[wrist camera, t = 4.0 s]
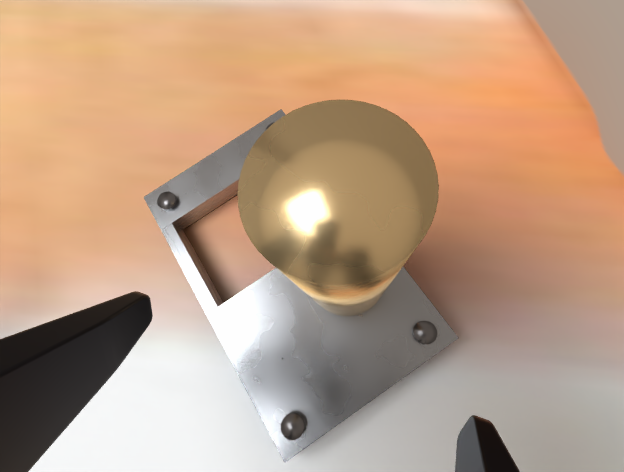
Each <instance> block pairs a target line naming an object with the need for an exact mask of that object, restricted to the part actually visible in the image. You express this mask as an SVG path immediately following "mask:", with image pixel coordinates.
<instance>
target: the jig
mask: <svg viewBox="0 0 624 472" xmlns="http://www.w3.org/2000/svg"><path fill="white" fill-rule="evenodd" d="M283 116H285V113H284V112H283V111H282V110H279V111H278V112H276V113H274V114H273V115H271V116H270V117H268V118H267V119H265V120H264V121H262V122H260V123H259V124H257V125H256V126H254V127H253V128H251V129H249V130H248V131H246V132H245V133H243V134H242V135H240V136H239V137H237V138H235V139H234V140H232V141H231V142H229V143H228V144H226V145H224V146H223V147H221V148H220V149H218V150H217V151H215V152H214V153H212V154H210V155H209V156H207V157H206V158H204V159H203V160H201V161H199V162H198V163H196V164H195V165H193V166H192V167H190V168H189V169H187V170H185V171H184V172H182V173H181V174H179V175H178V176H176V177H174V178H173V179H171V180H170V181H168V182H167V183H165V184H163V185H162V186H160V187H159V188H157V189H156V190H154V191H153V192H151V193H149V194H148V195H146V196H145V197H144V199H145V201H146V203H147V205H148V206H149V208H150V210H151V212H152V214H153V216H154V218H155V220H156V221H157V223H158V225H159V227H160V229H161V231H162V233H163V235H164V236H165V238H166V240H167V242H168V244H169V246H170V248H171V250H172V252H173V253H174V255H175V257H176V259H177V261H178V263H179V265H180V267H181V268H182V270H183V272H184V274H185V276H186V278H187V280H188V282H189V283H190V285H191V287H192V289H193V291H194V293H195V295H196V297H197V299H198V300H199V302H200V304H201V306H202V308H203V310H204V312H205V314H206V315H207V317H208V319H209V321H210V323H211V325H212V327H213V329H214V330H215V332H216V334H217V336H218V338H219V340H220V342H221V344H222V346H223V347H224V349H225V351H226V353H227V355H228V357H229V359H230V361H231V362H232V364H233V366H234V368H235V370H236V372H237V374H238V376H239V377H240V379H241V381H242V383H243V385H244V387H245V389H246V391H247V392H248V394H249V396H250V398H251V400H252V402H253V404H254V406H255V408H256V409H257V411H258V413H259V415H260V417H261V419H262V421H263V423H264V424H265V426H266V428H267V430H268V432H269V434H270V436H271V438H272V439H273V441H274V443H275V445H276V447H277V449H278V451H279V453H280V455H281V456H282V458H283V460H284V462H286V461H288V460H289V459H291V458H292V457H293V456H295V455H296V454H298V453H299V452H300V451H302V450H303V449H304V448H306V447H307V446H309V445H310V444H311V443H313V442H314V441H316V440H317V439H318V438H320V437H321V436H323V435H324V434H325V433H327V432H328V431H330V430H331V429H332V428H334V427H335V426H337V425H338V424H339V423H341V422H342V421H344V420H345V419H346V418H348V417H349V416H351V415H352V414H353V413H355V412H356V411H358V410H359V409H360V408H362V407H363V406H365V405H366V404H367V403H369V402H370V401H371V400H373V399H374V398H376V397H377V396H378V395H380V394H381V393H383V392H384V391H385V390H387V389H388V388H390V387H391V386H392V385H394V384H395V383H397V382H398V381H399V380H401V379H402V378H404V377H405V376H406V375H408V374H409V373H411V372H412V371H413V370H415V369H416V368H418V367H419V366H420V365H422V364H423V363H425V362H426V361H427V360H429V359H430V358H432V357H433V356H434V355H436V354H437V353H438V352H440V351H441V350H443V349H444V348H445V347H447V346H448V345H450V344H451V343H452V342H454V341H455V340H457V339H458V337H457V335H456V334H455V333H454V331H453V330H452V329H451V327H450V326H449V325H448V324H447V322H446V321H445V320H444V318H443V317H442V316H441V315H440V313H439V312H438V311H437V309H436V308H435V307H434V306H433V304H432V303H431V302H430V300H429V299H428V298H427V297H426V295H425V294H424V293H423V291H422V290H421V289H420V288H419V286H418V285H417V284H416V282H415V281H414V280H413V278H412V277H411V276H410V275H409V273H408V272H407V271H406V269H405V268H404V267H402V268H401V270H400V271H399V272H398V274H397V275H396V277H395V278H394V279H393V281H392V282H391V283H390V285H389V286H388V288H387V289H386V290H385V292H384V293H383V294H382V296H381V297H380V298H379V300H378V301H377V303H376V304H375V305H374V306H373V307H371V308H370V309H369V310H367V311H366V312H364V313H361V314H358V315H354V316H340V315H336V314H333V313H331V312H329V311H327V310H325V309H324V308H323V307H321V306H320V305H319V304H318V303H317V302H316V301H314V300H313V299H312V298H311V297H310V296H309V295H307V294H306V293H305V292H304V291H303V290H302V289H300V288H299V287H298V286H297V285H296V284H295V283H293V282H292V281H291V280H290V279H289V278H288V277H287V276H285V275H284V274H283V273H282V272H281V271H280V270H278V269H277V268H275V269H274V270H272V271H271V272H269V273H268V274H266V275H265V276H263V277H262V278H260V279H259V280H257V281H256V282H254V283H253V284H251V285H250V286H248V287H247V288H245V289H244V290H242V291H241V292H239V293H238V294H236V295H235V296H233V297H232V298H230V299H229V300H227V301H226V302H224V303H223V301H222V299H221V297H220V296H219V294H218V292H217V290H216V288H215V287H214V285H213V283H212V281H211V279H210V278H209V276H208V274H207V272H206V270H205V269H204V267H203V265H202V263H201V261H200V260H199V258H198V256H197V254H196V252H195V251H194V249H193V247H192V245H191V244H190V242H189V240H188V238H187V236H186V235H185V233H184V231H183V229H185V228H187V227H188V226H190V225H191V224H193V223H194V222H196V221H197V220H199V219H200V218H202V217H203V216H205V215H206V214H208V213H210V212H211V211H213V210H214V209H216V208H217V207H219V206H220V205H222V204H223V203H225V202H226V201H228V200H229V199H231V198H233V197H234V196H236V195H237V194H238V183H239V178H240V173H241V170H242V167H243V164H244V161H245V159H246V157H247V155H248V153H249V151H250V150H251V148H252V147H253V145H254V144H255V142H256V141H257V139H258V138H259V137H260V136H261V135H262V134H263V132H264V131H266V130H267V129H268V128H269V127H270V126H271V125H272V124H273V123H275V122H276V121H277V120H279V119H280V118H282V117H283Z"/></svg>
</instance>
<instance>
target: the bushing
mask: <svg viewBox="0 0 624 472" xmlns="http://www.w3.org/2000/svg"><path fill="white" fill-rule="evenodd" d="M438 189H439V185H438V176H437V171H436V167H435V163H434V160H433V158H432V156H431V153H430V151H429V149H428V147H427V146H426V144H425V142H424V141H423V139H422V138H421V137H420V136H419V134H418V133H417V132H416V131H415V130H414V129H413V128H412V127H411V126H410V125H409V124H408V123H407V122H405V121H404V120H403V119H401V118H400V117H399V116H397V115H395V114H394V113H392V112H390V111H388V110H386V109H384V108H381V107H379V106H376V105H373V104H369V103H366V102H361V101H354V100H328V101H322V102H317V103H313V104H310V105H306V106H303V107H301V108H299V109H296V110H294V111H292V112H290V113H288V114H287V115H285V116H283V117H282V118H280V119H279V120H277V121H276V122H275V123H273V124H272V125H271V126H270V127H269V128H268V129H267V130H266V131H264V132H263V134H262V135H261V136H260V137H259V138H258V139H257V141H256V142H255V144H254V145H253V147H252V148H251V150H250V151H249V153H248V155H247V157H246V159H245V161H244V164H243V167H242V170H241V173H240V178H239V183H238V207H239V212H240V217H241V220H242V223H243V226H244V229H245V231H246V233H247V234H248V236H249V238H250V240H251V242H252V243H253V244H254V246H255V247H256V248H257V250H258V251H259V252H260V253H261V254H262V255H263V256H264V257H265V258H266V259H267V260H268V261H269V262H270V263H271V264H273V265H274V266H275V267H276V268H277V269H278V270H280V271H281V272H282V273H283V274H284V275H285V276H287V277H288V278H289V279H290V280H291V281H292V282H293V283H295V284H296V285H297V286H298V287H299V288H300V289H302V290H303V291H304V292H305V293H306V294H307V295H309V296H310V297H311V298H312V299H313V300H314V301H316V302H317V303H318V304H319V305H320V306H321V307H323V308H324V309H325V310H327V311H329V312H331V313H333V314H336V315H340V316H354V315H358V314H361V313H364V312H366V311H367V310H369V309H370V308H371V307H373V306H374V305H375V304H376V303H377V301H378V300H379V298H380V297H381V296H382V294H383V293H384V292H385V290H386V289H387V288H388V286H389V285H390V283H391V282H392V281H393V279H394V278H395V277H396V275H397V274H398V272H399V271H400V270H401V268H402V267H403V266H404V264H405V263H406V262H407V260H408V259H409V257H410V256H411V255H412V253H413V252H414V251H415V249H416V248H417V246H418V245H419V244H420V242H421V241H422V239H423V238H424V237H425V235H426V233H427V231H428V229H429V227H430V226H431V224H432V221H433V218H434V215H435V212H436V207H437V202H438Z"/></svg>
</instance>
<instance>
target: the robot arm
mask: <svg viewBox="0 0 624 472" xmlns="http://www.w3.org/2000/svg"><path fill="white" fill-rule="evenodd" d="M151 320H152V309H151V302H150V298H149V296H148V295H146V294H143V293H140V292H131V293H128V294H126V295H123V296H120V297H117V298H114V299H112V300H109V301H106V302H103V303H101V304H98V305H95V306H92V307H89V308H87V309H84V310H81V311H78V312H75V313H73V314H70V315H67V316H64V317H61V318H59V319H56V320H53V321H50V322H47V323H45V324H42V325H39V326H36V327H33V328H31V329H28V330H25V331H22V332H19V333H17V334H14V335H11V336H8V337H5V338H3V339H0V472H28V471H29V470H30V469H31V468H32V467H33V466H34V464H35V463H36V462H37V461H38V460H39V459H40V457H41V456H42V455H43V454H44V453H45V452H46V451H47V449H48V448H49V447H50V446H51V445H52V444H53V443H54V441H55V440H56V439H57V438H58V437H59V436H60V434H61V433H62V432H63V431H64V430H65V429H66V428H67V426H68V425H69V424H70V423H71V422H72V421H73V419H74V418H75V417H76V416H77V415H78V414H79V413H80V411H81V410H82V409H83V408H84V407H85V406H86V405H87V403H88V402H89V401H90V400H91V399H92V398H93V396H94V395H95V394H96V393H97V392H98V391H99V390H100V388H101V387H102V386H103V385H104V384H105V383H106V381H107V380H108V379H109V378H110V377H111V376H112V374H113V373H114V372H115V371H116V370H117V368H118V367H119V366H120V365H121V363H122V362H123V361H124V359H125V358H126V356H127V355H128V354H129V352H130V351H131V349H132V348H133V347H134V345H135V344H136V342H137V341H138V340H139V338H140V337H141V335H142V334H143V333H144V331H145V330H146V328H147V327H148V326H149V324H150V322H151ZM455 472H520V471H519V469H518V468H517V466H516V464H515V462H514V460H513V459H512V457H511V455H510V453H509V452H508V450H507V448H506V446H505V445H504V443H503V441H502V439H501V437H500V436H499V434H498V432H497V430H496V429H495V427H494V425H493V424H492V423H491V422H490V421H489V420H486V419H484V418H481V417H478V416H475V415H473V416H471V417H470V418H469V420H468V421H467V423H466V424H465V425H464V427H463V428H462V430H461V431H460V433H459V436H458V440H457V450H456V465H455Z"/></svg>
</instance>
